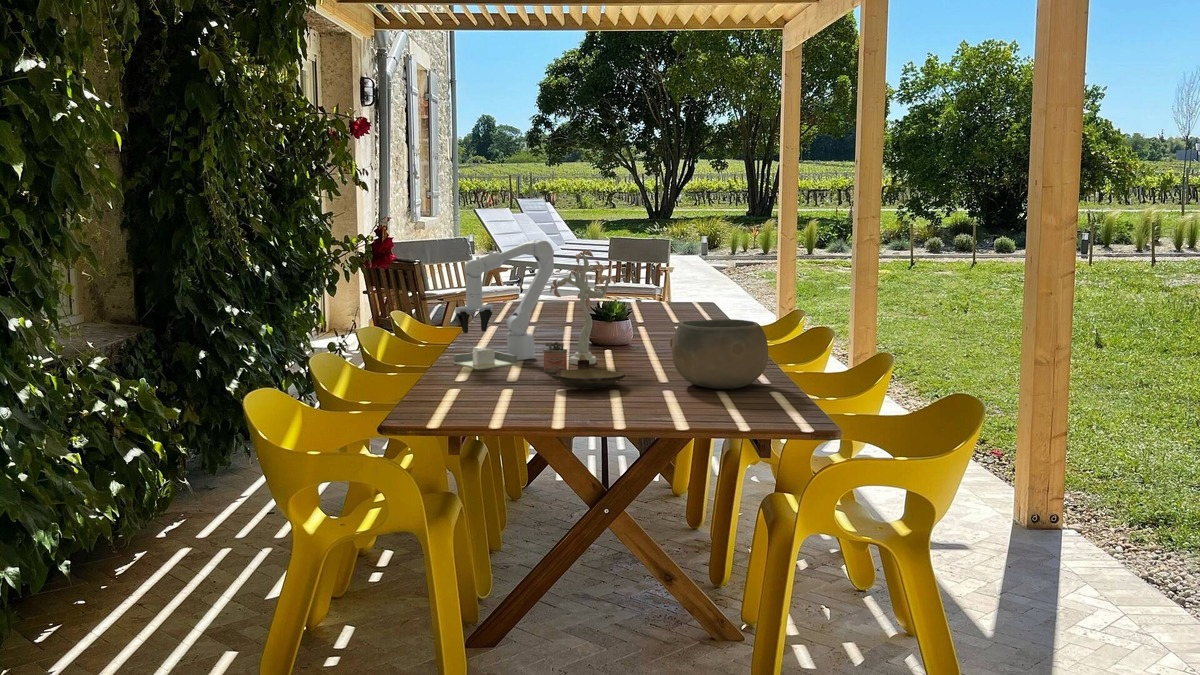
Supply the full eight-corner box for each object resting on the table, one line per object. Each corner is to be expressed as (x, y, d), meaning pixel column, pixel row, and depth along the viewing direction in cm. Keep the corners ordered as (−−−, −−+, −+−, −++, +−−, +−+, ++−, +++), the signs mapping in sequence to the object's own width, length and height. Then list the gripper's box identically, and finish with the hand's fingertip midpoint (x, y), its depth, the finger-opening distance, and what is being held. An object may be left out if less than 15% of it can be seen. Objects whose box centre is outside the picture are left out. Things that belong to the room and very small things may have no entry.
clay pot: (655, 381, 315) (656, 319, 312) (739, 375, 325) (740, 314, 323) (697, 399, 288) (698, 331, 285) (787, 392, 298) (788, 325, 295)
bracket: (494, 363, 346) (494, 349, 345) (477, 365, 341) (477, 351, 340) (480, 360, 352) (480, 346, 352) (463, 362, 348) (463, 348, 347)
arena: (492, 358, 360) (492, 350, 360) (517, 364, 348) (516, 355, 348) (453, 363, 351) (453, 354, 350) (477, 369, 338) (477, 360, 338)
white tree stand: (556, 355, 367) (554, 246, 362) (619, 356, 365) (619, 246, 360) (545, 368, 340) (543, 251, 334) (613, 369, 338) (613, 251, 332)
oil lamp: (542, 394, 296) (541, 369, 295) (568, 376, 325) (568, 353, 324) (615, 397, 291) (615, 371, 290) (635, 379, 320) (636, 355, 319)
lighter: (568, 370, 335) (567, 341, 334) (566, 372, 332) (566, 342, 330) (544, 370, 336) (544, 341, 335) (542, 372, 333) (542, 342, 331)
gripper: (485, 291, 360) (485, 329, 362) (450, 294, 351) (451, 332, 353) (496, 293, 355) (496, 331, 357) (460, 295, 346) (461, 334, 348)
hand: (474, 332), depth 355 cm, fingers open, 7 cm apart
